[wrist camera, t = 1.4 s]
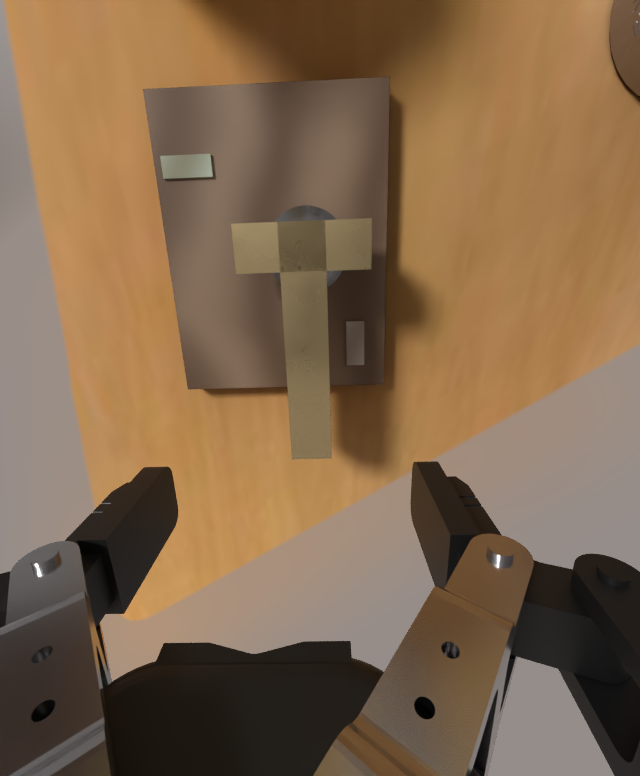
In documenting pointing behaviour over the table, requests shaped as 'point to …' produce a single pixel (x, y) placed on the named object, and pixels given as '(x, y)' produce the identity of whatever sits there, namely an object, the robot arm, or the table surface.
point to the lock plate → (269, 217)
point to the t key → (305, 304)
